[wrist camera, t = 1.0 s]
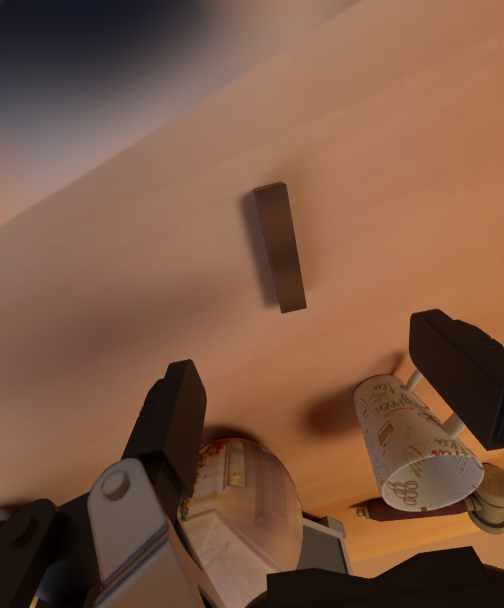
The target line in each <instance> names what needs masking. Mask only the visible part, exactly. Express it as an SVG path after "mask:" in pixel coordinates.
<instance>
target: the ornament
mask: <svg viewBox="0 0 504 608" xmlns="http://www.w3.org/2000/svg"><path fill="white" fill-rule="evenodd" d="M177 514H178V516H179V518H180V520H181V522H182V524H183V526H184V528H185V530H186V532H187V534H188V536H189V538H190V540H191V542H192V544H193V546H194V548H195V550H196V552H197V555H198V557H199V559H200V561H201V563H202V565H203V567H204V569H205V571H206V573H207V575H208V577H209V579H210V580H211V582H212V584H213V586H214V587H215V589H216V591H217V592H218V594H219V596H220V598H221V599H222V601H223V603H224V605H225V607H226V608H245V607H246V606H247V604H248V603H249V602H251V601H252V600H253V599H254V598H256V597H257V596H258V595H260V594H261V593H263V592H265V591H266V590H267V578H266V574H270V573H278V572H285V571H292V570H296V567H297V564H298V561H299V557H300V553H301V548H302V539H303V517H302V509H301V504H300V500H299V496H298V492H297V490H296V487H295V484H294V482H293V480H292V478H291V476H290V474H289V472H288V471H287V470H286V468H285V467H284V465H283V464H282V463H281V461H280V460H279V459H278V458H277V457H276V456H275V455H274V454H273V453H272V452H270V451H269V450H267V449H266V448H265V447H263V446H261V445H259V444H257V443H255V442H252V441H249V440H246V439H240V438H226V439H221V440H217V441H214V442H211V443H209V444H207V445H205V446H203V447H201V448H200V452H199V458H198V465H197V472H196V478H195V485H194V492H193V498H188V499H182V500H180V501H179V507H178V512H177Z"/></svg>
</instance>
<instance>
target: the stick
mask: <svg viewBox="0 0 504 608" xmlns="http://www.w3.org/2000/svg"><path fill="white" fill-rule="evenodd" d="M254 193H255V198H256V202H257V207H258V211H259V216H260V220H261V225H262V229H263V234H264V238H265V243H266V247H267V252H268V256H269V261H270V266H271V270H272V275H273V279H274V284H275V288H276V293H277V297H278V302H279V306H280V309H281V313H287V312H291V311H296V310H300V309H305V308H307V306H306V300H305V294H304V288H303V282H302V276H301V270H300V264H299V258H298V252H297V246H296V240H295V234H294V228H293V222H292V216H291V210H290V204H289V198H288V192H287V186H286V184H285V183H283V182H278V183H274V184H271V185H267V186H263V187H259V188H255V189H254Z"/></svg>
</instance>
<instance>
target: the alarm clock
mask: <svg viewBox="0 0 504 608" xmlns="http://www.w3.org/2000/svg"><path fill="white" fill-rule="evenodd" d="M345 537H346V534H345V531H344V527H343V524H342V522H340V521H337V520H335V519H332V518H330V517H325V518H323V519H322V520H320V521H319V522H317V523H315V522H313V521H310V520H308V519H305V518H303V539H302V548H301V553H300V557H299V561H298V564H297V567H296V570H300V569H307V568H314V567H315V568H319V569H324V570H329V571H334V572H339V573H343V574H348V575H353V572H352V569H351V565H350V561H349V557H348V554H347V550H346V546H345V542H344V538H345Z"/></svg>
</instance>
